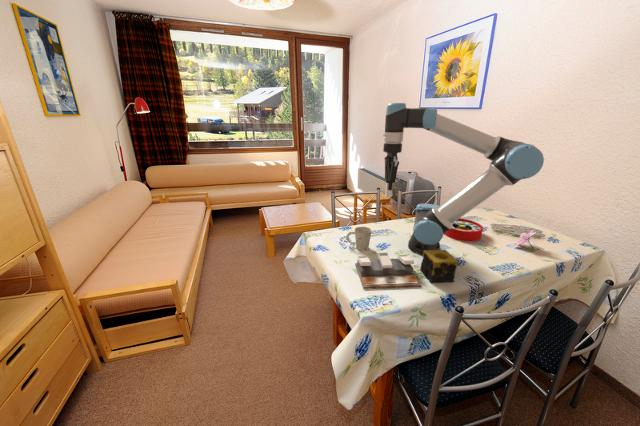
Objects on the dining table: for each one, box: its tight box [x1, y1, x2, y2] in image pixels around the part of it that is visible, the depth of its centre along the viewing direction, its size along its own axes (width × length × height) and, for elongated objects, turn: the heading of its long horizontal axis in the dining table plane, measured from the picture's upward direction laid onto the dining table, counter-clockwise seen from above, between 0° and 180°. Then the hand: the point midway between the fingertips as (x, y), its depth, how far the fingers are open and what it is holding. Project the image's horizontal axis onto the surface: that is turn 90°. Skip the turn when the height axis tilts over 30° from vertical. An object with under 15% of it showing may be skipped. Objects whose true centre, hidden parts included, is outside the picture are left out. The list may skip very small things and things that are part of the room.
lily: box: [513, 229, 537, 249], centre depth 139 cm, size 12×12×10 cm
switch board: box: [354, 258, 422, 290], centre depth 116 cm, size 23×18×4 cm
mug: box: [345, 226, 373, 252], centre depth 139 cm, size 8×13×10 cm, turn 78°
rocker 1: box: [357, 255, 371, 266], centre depth 117 cm, size 4×8×2 cm, turn 3°
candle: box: [419, 249, 458, 284], centre depth 114 cm, size 10×10×10 cm
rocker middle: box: [377, 252, 392, 268], centre depth 118 cm, size 4×8×2 cm, turn 3°
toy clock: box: [443, 218, 484, 242], centre depth 155 cm, size 20×6×20 cm
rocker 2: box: [397, 254, 415, 265], centre depth 118 cm, size 4×8×2 cm, turn 3°
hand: (388, 196), depth 124 cm, fingers closed
